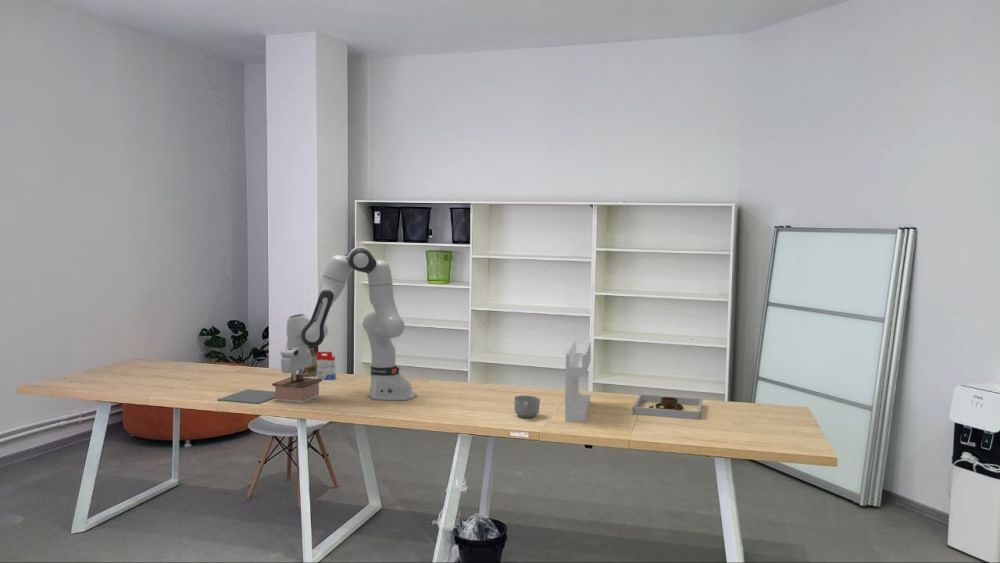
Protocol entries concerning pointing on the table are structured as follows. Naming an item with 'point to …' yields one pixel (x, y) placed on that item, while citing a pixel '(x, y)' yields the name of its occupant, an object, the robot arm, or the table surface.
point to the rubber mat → (250, 396)
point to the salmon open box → (297, 393)
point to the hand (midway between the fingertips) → (297, 379)
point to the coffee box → (313, 368)
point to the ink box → (325, 366)
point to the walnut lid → (297, 382)
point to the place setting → (668, 404)
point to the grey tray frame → (667, 412)
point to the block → (576, 384)
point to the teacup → (526, 406)
